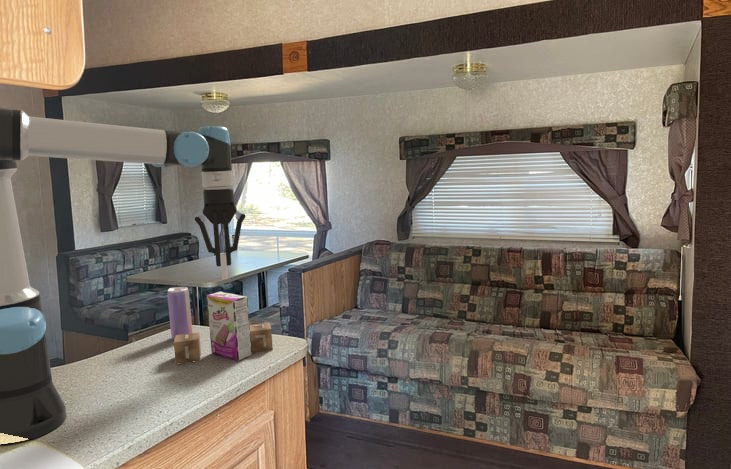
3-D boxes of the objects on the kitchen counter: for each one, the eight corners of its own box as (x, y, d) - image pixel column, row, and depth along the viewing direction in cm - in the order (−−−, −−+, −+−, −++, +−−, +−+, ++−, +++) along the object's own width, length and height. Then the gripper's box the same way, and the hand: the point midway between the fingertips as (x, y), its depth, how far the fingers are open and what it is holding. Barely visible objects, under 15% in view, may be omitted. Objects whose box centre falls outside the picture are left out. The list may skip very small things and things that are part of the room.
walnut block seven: (250, 353, 147) (248, 331, 146) (249, 345, 153) (247, 324, 152) (272, 350, 148) (271, 328, 147) (271, 342, 154) (269, 321, 153)
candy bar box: (210, 353, 147) (205, 295, 145) (224, 348, 151) (220, 290, 149) (238, 361, 140) (233, 300, 138) (252, 355, 144) (248, 295, 142)
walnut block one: (175, 364, 140) (173, 341, 139) (177, 356, 146) (175, 334, 145) (199, 361, 142) (197, 339, 141) (201, 353, 148) (199, 331, 147)
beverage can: (180, 343, 157) (175, 292, 154) (167, 339, 160) (162, 290, 158) (197, 336, 162) (192, 287, 159) (183, 333, 165) (179, 285, 163)
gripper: (190, 190, 134) (198, 283, 137) (244, 187, 137) (250, 278, 140) (192, 188, 141) (199, 277, 145) (243, 186, 144) (249, 273, 148)
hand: (224, 277), depth 143 cm, fingers closed
